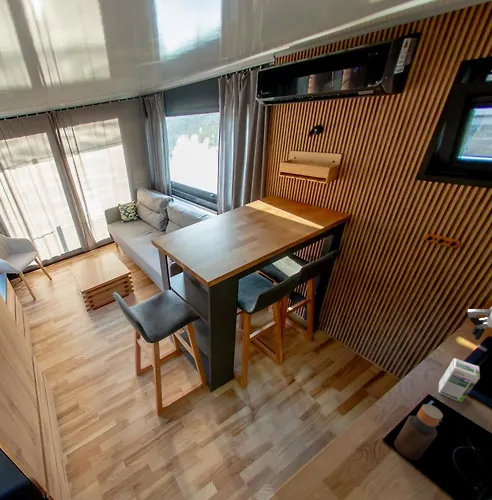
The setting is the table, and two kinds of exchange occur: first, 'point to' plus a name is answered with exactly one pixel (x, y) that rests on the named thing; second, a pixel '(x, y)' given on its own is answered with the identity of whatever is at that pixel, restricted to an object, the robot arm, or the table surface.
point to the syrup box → (459, 380)
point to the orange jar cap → (430, 415)
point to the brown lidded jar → (413, 440)
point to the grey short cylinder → (423, 426)
